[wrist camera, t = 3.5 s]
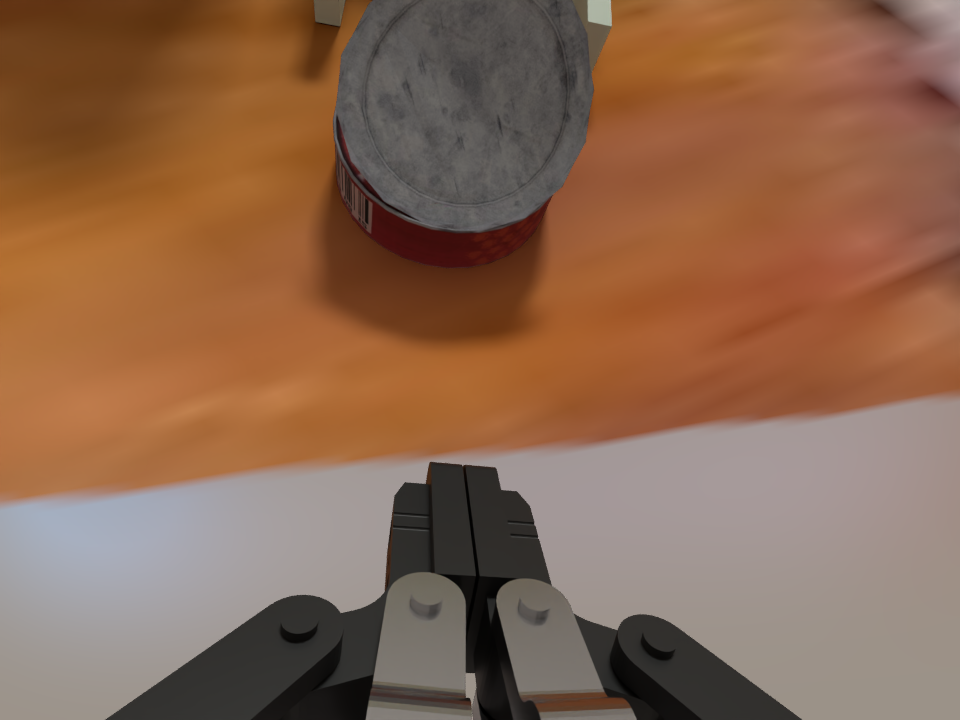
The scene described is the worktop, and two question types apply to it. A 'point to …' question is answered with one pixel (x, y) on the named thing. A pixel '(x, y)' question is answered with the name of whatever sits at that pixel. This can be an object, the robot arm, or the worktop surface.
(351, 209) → the canned food
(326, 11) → the rack
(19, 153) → the worktop surface
